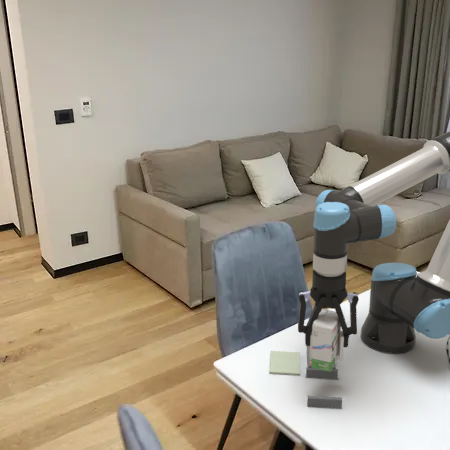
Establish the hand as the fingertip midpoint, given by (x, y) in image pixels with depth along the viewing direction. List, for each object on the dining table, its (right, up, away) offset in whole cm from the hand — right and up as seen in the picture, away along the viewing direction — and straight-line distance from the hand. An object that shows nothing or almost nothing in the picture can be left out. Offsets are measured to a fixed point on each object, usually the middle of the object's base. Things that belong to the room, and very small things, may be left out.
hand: (325, 357), depth 125 cm
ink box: (0, -1, 0) cm, 1 cm away
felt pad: (-8, -6, +15) cm, 18 cm away
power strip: (+1, -7, +10) cm, 12 cm away
